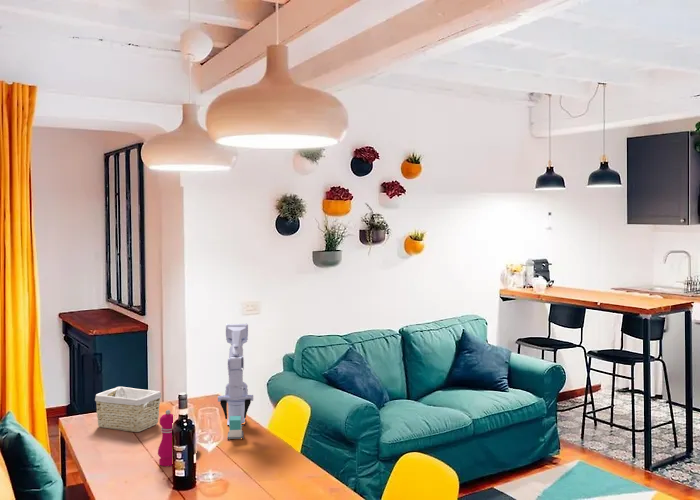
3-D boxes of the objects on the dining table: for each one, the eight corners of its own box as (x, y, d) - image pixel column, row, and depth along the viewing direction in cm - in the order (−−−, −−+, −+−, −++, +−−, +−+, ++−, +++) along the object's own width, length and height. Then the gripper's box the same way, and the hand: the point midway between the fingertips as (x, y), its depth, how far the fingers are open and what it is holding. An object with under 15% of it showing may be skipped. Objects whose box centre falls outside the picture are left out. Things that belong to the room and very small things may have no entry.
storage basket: (93, 427, 284) (93, 393, 283) (119, 417, 299) (119, 385, 298) (138, 434, 275) (138, 400, 275) (162, 423, 290) (162, 390, 290)
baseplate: (228, 434, 276) (228, 431, 276) (243, 434, 277) (243, 430, 277) (227, 440, 269) (227, 437, 269) (243, 439, 270) (243, 436, 270)
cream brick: (229, 432, 276) (229, 425, 276) (241, 432, 277) (241, 425, 276) (229, 437, 270) (229, 430, 270) (241, 436, 271) (241, 429, 271)
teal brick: (230, 425, 276) (230, 416, 276) (240, 425, 276) (240, 415, 276) (229, 430, 270) (229, 420, 270) (240, 429, 270) (240, 420, 270)
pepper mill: (153, 464, 242) (153, 410, 241) (167, 458, 248) (167, 406, 247) (168, 468, 238) (168, 413, 237) (182, 462, 245) (182, 408, 244)
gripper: (217, 388, 267) (217, 421, 268) (253, 387, 269) (253, 420, 270) (218, 384, 274) (218, 416, 275) (253, 383, 276) (253, 415, 277)
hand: (235, 417), depth 273 cm, fingers open, 7 cm apart
